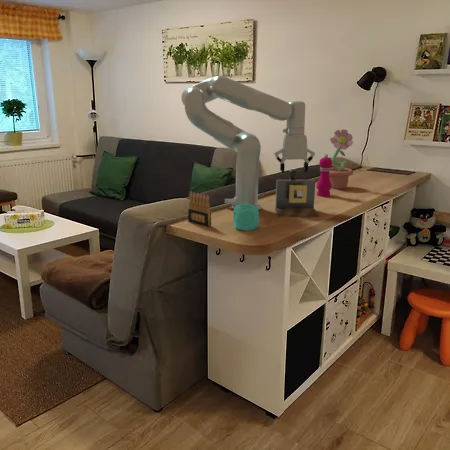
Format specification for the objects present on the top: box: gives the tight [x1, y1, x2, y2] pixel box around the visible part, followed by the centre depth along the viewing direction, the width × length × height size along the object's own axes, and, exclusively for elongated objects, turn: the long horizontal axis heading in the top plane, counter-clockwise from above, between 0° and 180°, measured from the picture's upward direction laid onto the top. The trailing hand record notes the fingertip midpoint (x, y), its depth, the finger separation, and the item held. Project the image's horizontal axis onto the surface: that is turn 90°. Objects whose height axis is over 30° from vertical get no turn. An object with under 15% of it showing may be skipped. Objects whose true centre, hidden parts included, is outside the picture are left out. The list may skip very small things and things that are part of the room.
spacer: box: [289, 185, 307, 203], centre depth 186 cm, size 7×2×7 cm, turn 93°
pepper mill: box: [315, 153, 333, 197], centre depth 219 cm, size 7×7×20 cm
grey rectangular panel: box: [275, 179, 316, 209], centre depth 191 cm, size 16×2×12 cm, turn 93°
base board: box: [274, 207, 320, 218], centre depth 188 cm, size 16×11×1 cm
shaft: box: [288, 169, 302, 197], centre depth 189 cm, size 3×17×8 cm, turn 3°
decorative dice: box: [232, 204, 260, 232], centre depth 167 cm, size 8×8×8 cm
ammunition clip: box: [187, 191, 212, 228], centre depth 171 cm, size 11×2×12 cm, turn 47°
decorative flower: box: [329, 129, 354, 190], centre depth 235 cm, size 15×14×30 cm
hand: (294, 172), depth 195 cm, fingers open, 9 cm apart
